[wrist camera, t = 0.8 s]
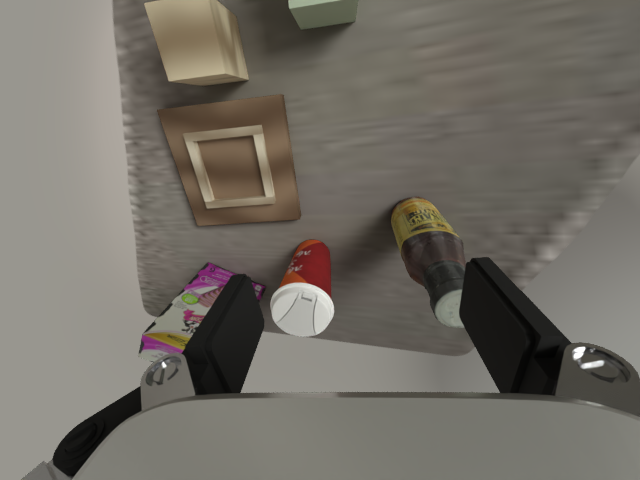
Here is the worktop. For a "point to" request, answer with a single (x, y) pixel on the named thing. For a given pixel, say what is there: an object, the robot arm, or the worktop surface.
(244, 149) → the base plate
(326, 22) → the sage block
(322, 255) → the paper cup
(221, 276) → the candy bar box
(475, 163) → the worktop surface
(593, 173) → the worktop surface
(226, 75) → the maple block
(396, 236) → the sauce bottle
